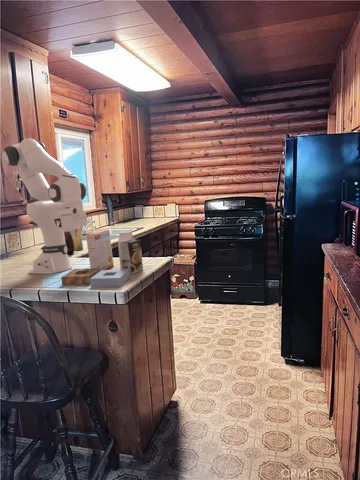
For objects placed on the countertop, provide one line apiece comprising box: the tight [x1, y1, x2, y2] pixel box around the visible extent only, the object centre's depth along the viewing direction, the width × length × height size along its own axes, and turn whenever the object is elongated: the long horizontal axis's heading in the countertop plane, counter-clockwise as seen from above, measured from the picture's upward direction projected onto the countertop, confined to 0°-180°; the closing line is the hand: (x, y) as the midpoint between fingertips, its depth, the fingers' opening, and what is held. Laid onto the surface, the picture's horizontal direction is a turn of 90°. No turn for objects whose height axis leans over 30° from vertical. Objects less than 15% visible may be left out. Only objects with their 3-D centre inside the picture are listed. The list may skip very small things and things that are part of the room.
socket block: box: [90, 269, 131, 288], centre depth 164 cm, size 14×14×4 cm
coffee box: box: [120, 239, 144, 275], centre depth 178 cm, size 9×6×16 cm
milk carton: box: [117, 232, 136, 270], centre depth 187 cm, size 7×7×19 cm
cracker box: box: [85, 229, 114, 270], centre depth 186 cm, size 14×6×21 cm, turn 159°
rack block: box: [60, 267, 101, 286], centre depth 170 cm, size 14×14×4 cm
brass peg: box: [73, 225, 84, 252], centre depth 167 cm, size 4×4×12 cm
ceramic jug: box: [54, 218, 76, 256], centre depth 232 cm, size 17×15×30 cm
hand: (77, 238), depth 166 cm, fingers closed on brass peg, 4 cm apart
